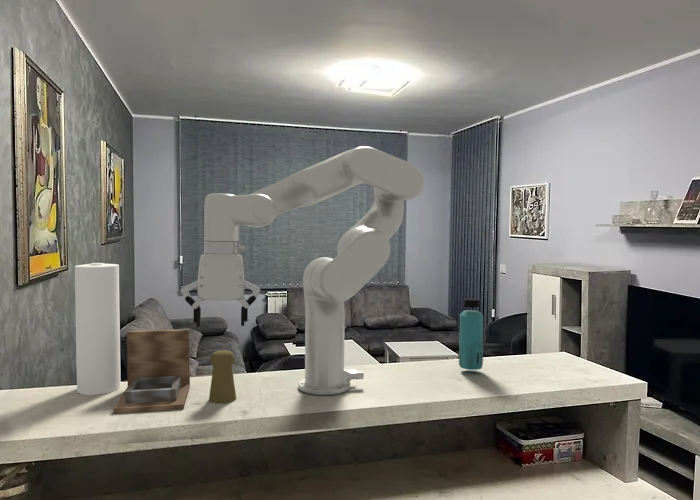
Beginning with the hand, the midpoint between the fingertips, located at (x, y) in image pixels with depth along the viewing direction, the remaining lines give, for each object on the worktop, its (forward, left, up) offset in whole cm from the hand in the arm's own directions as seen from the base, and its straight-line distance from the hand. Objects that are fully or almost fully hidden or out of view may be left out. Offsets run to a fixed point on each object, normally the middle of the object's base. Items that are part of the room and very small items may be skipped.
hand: (220, 325), depth 119 cm
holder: (+15, -3, -17) cm, 22 cm away
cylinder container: (+29, -13, -17) cm, 36 cm away
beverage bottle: (-65, -10, -17) cm, 68 cm away
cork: (0, 0, -17) cm, 17 cm away
